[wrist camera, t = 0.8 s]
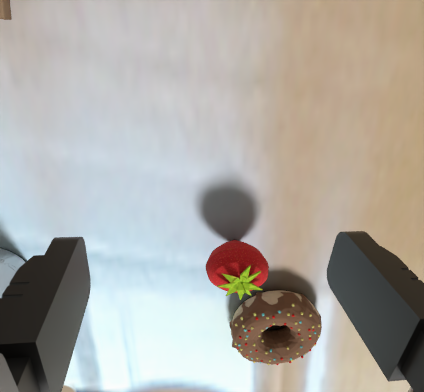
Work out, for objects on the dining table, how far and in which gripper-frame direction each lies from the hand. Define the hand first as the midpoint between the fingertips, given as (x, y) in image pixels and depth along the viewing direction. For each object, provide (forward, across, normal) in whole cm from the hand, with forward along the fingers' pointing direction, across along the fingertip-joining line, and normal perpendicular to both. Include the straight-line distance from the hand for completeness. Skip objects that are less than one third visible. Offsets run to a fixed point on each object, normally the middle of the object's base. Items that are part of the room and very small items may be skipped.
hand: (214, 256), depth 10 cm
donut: (+26, -15, +33) cm, 45 cm away
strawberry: (+26, -7, +18) cm, 33 cm away
